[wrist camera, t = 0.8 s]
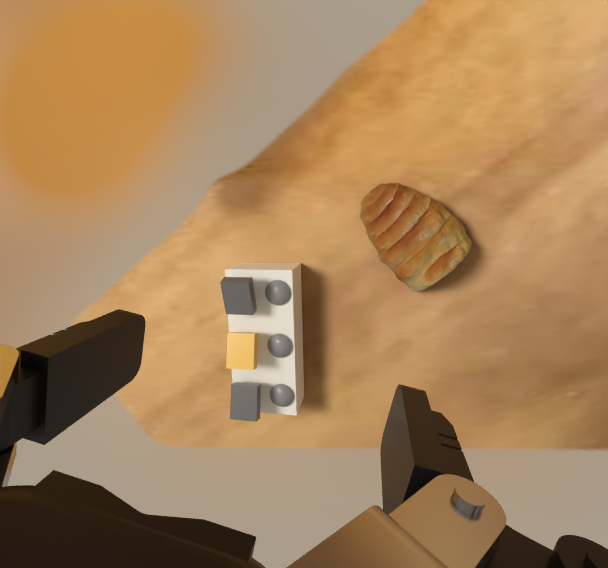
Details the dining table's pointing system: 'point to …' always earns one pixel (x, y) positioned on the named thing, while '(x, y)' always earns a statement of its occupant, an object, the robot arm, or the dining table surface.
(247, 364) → the rocker middle
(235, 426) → the dining table surface
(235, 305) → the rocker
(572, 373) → the dining table surface
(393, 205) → the pastry
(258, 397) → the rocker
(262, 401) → the white switch panel
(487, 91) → the dining table surface
